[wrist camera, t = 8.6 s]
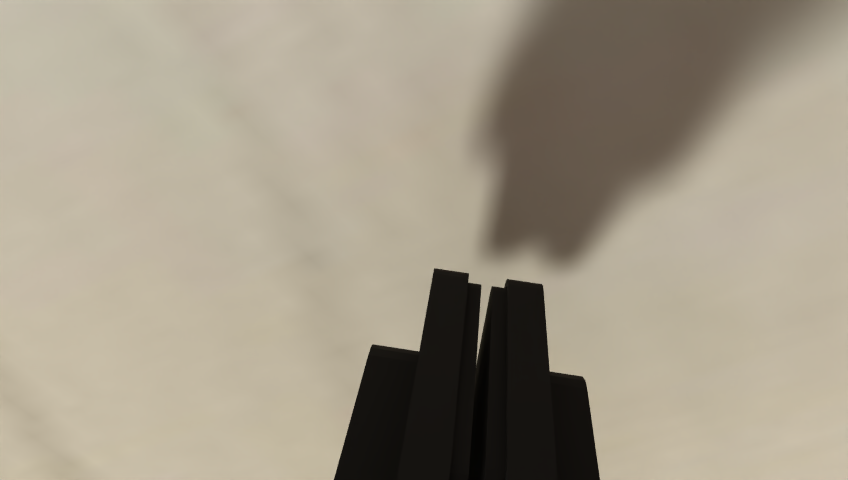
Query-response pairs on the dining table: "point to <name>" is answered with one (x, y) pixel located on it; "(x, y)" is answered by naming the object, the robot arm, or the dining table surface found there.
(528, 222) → the dining table surface
